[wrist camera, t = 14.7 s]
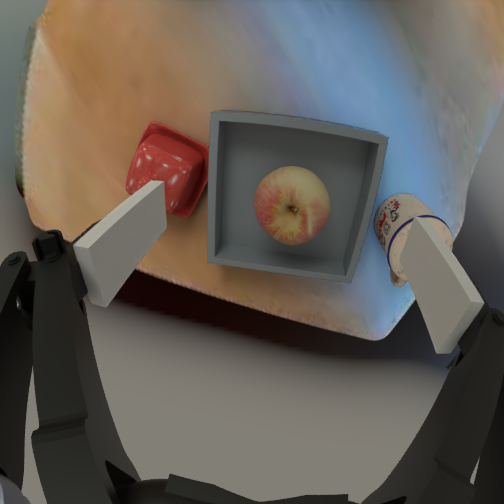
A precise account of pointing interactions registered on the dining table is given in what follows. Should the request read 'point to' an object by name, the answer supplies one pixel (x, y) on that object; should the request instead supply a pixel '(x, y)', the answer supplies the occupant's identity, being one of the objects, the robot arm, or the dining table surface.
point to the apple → (292, 204)
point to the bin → (281, 155)
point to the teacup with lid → (403, 229)
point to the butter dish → (170, 167)
